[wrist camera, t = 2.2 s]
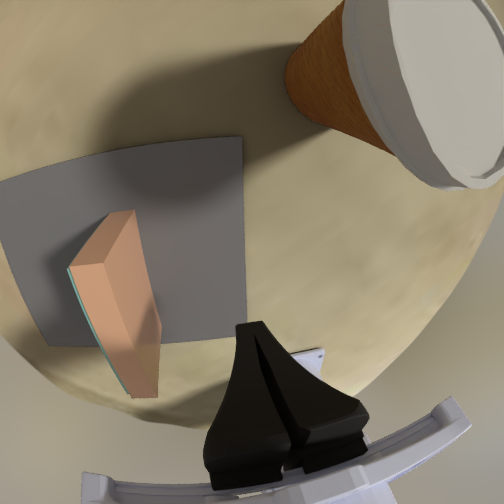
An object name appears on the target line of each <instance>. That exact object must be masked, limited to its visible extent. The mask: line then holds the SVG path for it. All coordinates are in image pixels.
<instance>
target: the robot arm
mask: <svg viewBox="0 0 504 504" xmlns="http://www.w3.org/2000/svg"><path fill="white" fill-rule="evenodd" d="M235 331H236V352H235V359H234V364H233V369H232V373H231V377H230V381H229V384H228V388H227V391H226V393H225V396H224V399H223V402H222V404H221V406H220V409H219V411H218V413H217V415H216V417H215V419H214V421H213V423H212V425H211V427H210V429H209V430H208V433H207V437H206V440H205V444H204V449H203V459H204V465H205V467H206V469H207V470H208V472H209V474H210V480H211V483H199V484H148V483H134V482H123V481H115V480H113V479H112V478H110V477H108V476H105V475H100V474H94V473H89V472H82V483H81V504H397V502H396V500H395V498H394V496H393V494H392V492H391V489H390V487H389V485H388V483H390V482H392V481H394V480H395V479H397V478H399V477H401V476H403V475H404V474H406V473H408V472H409V471H411V470H413V469H414V468H416V467H418V466H419V465H421V464H422V463H424V462H426V461H427V460H429V459H430V458H432V457H433V456H435V455H436V454H438V453H439V452H440V451H442V450H443V449H445V448H446V447H447V446H449V445H450V444H451V443H453V442H454V441H455V440H456V439H457V438H458V437H460V436H461V435H462V434H463V433H464V432H465V431H467V430H468V429H469V428H470V427H471V426H472V424H471V422H470V421H469V419H468V418H467V416H466V415H465V413H464V412H463V410H462V409H461V408H460V406H459V405H458V403H457V402H456V400H455V399H454V397H453V396H450V397H448V398H447V399H445V400H444V401H442V402H441V403H439V404H438V405H437V406H436V407H434V409H433V410H432V411H431V413H429V414H427V415H426V416H424V417H422V418H421V419H419V420H417V421H415V422H413V423H412V424H410V425H408V426H406V427H404V428H402V429H400V430H398V431H396V432H394V433H392V434H390V435H388V436H386V437H384V438H382V439H379V440H377V441H375V442H371V441H370V439H369V437H368V436H367V434H366V433H365V432H364V431H363V430H362V429H363V427H364V426H365V425H366V424H367V422H368V420H369V414H368V412H367V411H366V409H365V408H364V406H363V405H362V403H361V402H360V400H358V399H355V398H353V397H351V396H348V395H346V394H344V393H342V392H340V391H338V390H336V389H335V388H333V387H331V386H330V385H328V384H326V383H325V382H323V379H322V377H321V375H320V369H321V366H322V362H323V358H324V354H325V350H324V349H323V348H319V349H314V350H310V351H305V352H300V353H295V354H289V353H288V352H287V351H286V350H285V349H284V348H283V347H282V345H281V344H280V343H279V342H278V341H277V340H276V338H275V337H274V336H273V335H272V333H271V332H270V331H269V329H268V328H267V326H266V325H265V323H264V322H263V321H256V322H249V323H242V324H237V325H236V326H235ZM259 491H262V494H260V495H255V496H250V497H245V498H240V499H239V497H238V496H232V495H240V494H247V493H253V492H259Z"/></svg>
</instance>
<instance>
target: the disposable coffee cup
mask: <svg viewBox="0 0 504 504" xmlns="http://www.w3.org/2000/svg"><path fill="white" fill-rule="evenodd" d="M285 84H286V88H287V92H288V94H289V96H290V98H291V100H292V102H293V103H294V105H295V106H296V107H297V108H298V110H299V111H300V112H301V113H303V114H304V115H305V116H306V117H308V118H309V119H311V120H313V121H315V122H317V123H320V124H323V125H325V126H328V127H330V128H333V129H335V130H338V131H341V132H343V133H345V134H348V135H350V136H353V137H355V138H358V139H360V140H362V141H364V142H367V143H369V144H371V145H373V146H375V147H377V148H379V149H382V150H384V151H386V152H388V153H390V154H392V155H394V156H396V157H397V158H398V159H399V161H400V162H401V163H402V164H403V166H404V167H405V168H407V169H408V170H409V171H410V172H411V173H413V174H414V175H415V176H416V177H417V178H418V179H420V180H421V181H423V182H425V183H426V184H428V185H430V186H432V187H435V188H438V189H441V190H444V191H458V190H463V189H465V188H472V189H485V188H487V187H490V186H492V185H494V184H495V183H496V182H497V181H498V180H499V179H500V178H501V177H502V176H503V175H504V30H503V28H502V26H501V24H500V23H499V21H498V19H497V17H496V16H495V15H494V13H493V11H492V10H491V9H490V7H489V6H488V4H487V3H486V2H485V0H343V1H342V2H341V4H340V5H338V6H337V7H336V8H335V10H334V11H332V12H331V13H330V15H328V16H327V17H326V18H325V19H324V20H323V21H322V22H321V24H319V25H318V27H317V28H316V29H315V30H314V31H313V32H312V33H311V34H310V35H309V36H308V37H307V39H306V40H304V42H303V43H302V44H301V45H300V46H299V47H298V49H297V50H296V51H295V52H294V53H293V54H292V55H291V57H290V58H289V60H288V63H287V65H286V70H285Z"/></svg>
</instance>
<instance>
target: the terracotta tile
mask: <svg viewBox="0 0 504 504" xmlns="http://www.w3.org/2000/svg"><path fill="white" fill-rule="evenodd" d="M67 271H68V274H69V276H70V279H71V282H72V284H73V287H74V290H75V292H76V295H77V297H78V300H79V302H80V305H81V307H82V309H83V312H84V314H85V316H86V318H87V321H88V323H89V325H90V327H91V329H92V331H93V333H94V335H95V338H96V340H97V342H98V344H99V346H100V347H101V349H102V351H103V353H104V355H105V357H106V359H107V361H108V362H109V364H110V366H111V368H112V370H113V371H114V373H115V375H116V377H117V378H118V380H119V382H120V383H121V385H122V387H123V388H124V390H125V391H126V393H127V394H130V396H131V397H132V398H158V376H159V358H160V343H161V331H162V326H161V322H160V319H159V315H158V312H157V308H156V304H155V301H154V297H153V293H152V289H151V285H150V281H149V277H148V273H147V269H146V264H145V260H144V255H143V250H142V246H141V241H140V236H139V230H138V225H137V219H136V214H135V210H127V211H120V212H113V213H109V215H108V216H107V217H106V218H105V219H104V220H103V221H102V222H101V224H100V225H99V226H98V227H97V229H96V230H95V231H94V233H93V234H92V235H91V236H90V238H89V239H88V240H87V242H86V243H85V244H84V246H83V247H82V248H81V250H80V251H79V252H78V254H77V255H76V257H75V258H74V259H73V261H72V262H71V264H70V265H69V266H68V268H67Z"/></svg>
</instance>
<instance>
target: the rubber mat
mask: <svg viewBox="0 0 504 504" xmlns="http://www.w3.org/2000/svg"><path fill="white" fill-rule="evenodd" d="M127 210H135V214H136V219H137V225H138V230H139V236H140V241H141V246H142V250H143V255H144V260H145V264H146V269H147V273H148V277H149V281H150V285H151V289H152V293H153V297H154V301H155V304H156V308H157V312H158V315H159V319H160V322H161V326H162V331H161V343H160V344H167V343H179V342H190V341H200V340H210V339H219V338H227V337H235V336H236V331H235V326H236V325H237V324H242V323H247V299H246V268H245V235H244V198H243V158H242V136H235V137H217V138H203V139H192V140H181V141H172V142H164V143H157V144H149V145H143V146H136V147H130V148H124V149H119V150H113V151H108V152H103V153H99V154H94V155H89V156H85V157H81V158H76V159H72V160H68V161H65V162H61V163H57V164H53V165H50V166H46V167H43V168H40V169H36V170H33V171H30V172H27V173H24V174H21V175H18V176H15V177H12V178H9V179H7V180H4V181H1V182H0V240H1V243H2V246H3V249H4V252H5V255H6V258H7V260H8V263H9V266H10V268H11V271H12V273H13V276H14V278H15V281H16V283H17V285H18V288H19V290H20V292H21V294H22V297H23V299H24V301H25V303H26V305H27V307H28V309H29V311H30V313H31V315H32V317H33V319H34V321H35V323H36V325H37V326H38V328H39V330H40V332H41V334H42V335H43V337H44V339H45V341H46V342H47V344H48V346H83V347H91V346H99V344H98V342H97V340H96V338H95V335H94V333H93V331H92V329H91V327H90V325H89V323H88V321H87V318H86V316H85V314H84V312H83V309H82V307H81V305H80V302H79V300H78V297H77V295H76V292H75V290H74V287H73V284H72V282H71V279H70V276H69V274H68V271H67V268H68V266H69V265H70V264H71V262H72V261H73V259H74V258H75V257H76V255H77V254H78V252H79V251H80V250H81V248H82V247H83V246H84V244H85V243H86V242H87V240H88V239H89V238H90V236H91V235H92V234H93V233H94V231H95V230H96V229H97V227H98V226H99V225H100V224H101V222H102V221H103V220H104V219H105V218H106V217H107V216H108V215H109V213H113V212H120V211H127Z"/></svg>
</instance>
